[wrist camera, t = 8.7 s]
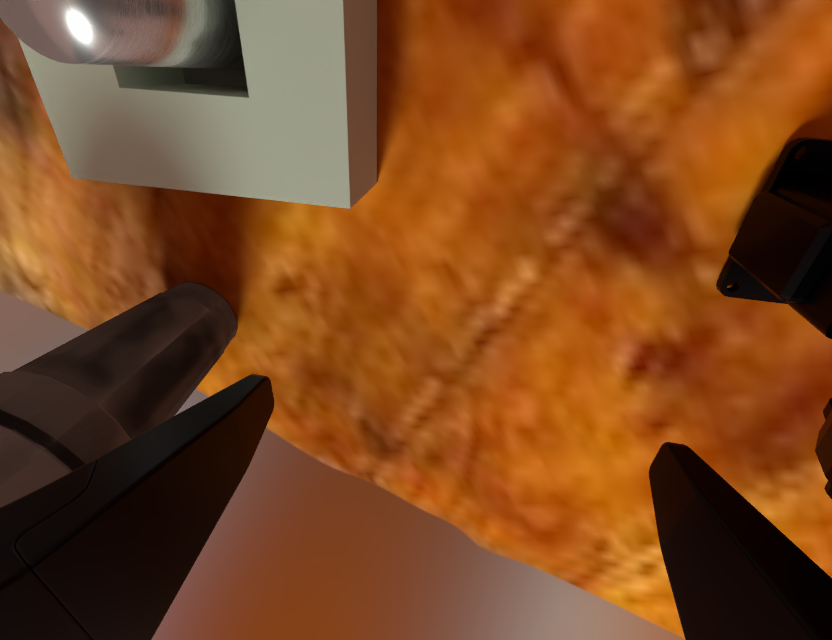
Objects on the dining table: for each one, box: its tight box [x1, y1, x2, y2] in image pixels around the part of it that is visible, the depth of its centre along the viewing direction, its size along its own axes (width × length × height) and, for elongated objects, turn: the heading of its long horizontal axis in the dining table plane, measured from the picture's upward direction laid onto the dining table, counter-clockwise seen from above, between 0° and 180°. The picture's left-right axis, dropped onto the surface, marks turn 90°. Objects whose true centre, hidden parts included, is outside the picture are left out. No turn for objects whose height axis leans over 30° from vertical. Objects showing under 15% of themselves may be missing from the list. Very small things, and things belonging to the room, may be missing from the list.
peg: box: [0, 0, 245, 70], centre depth 13 cm, size 4×4×8 cm
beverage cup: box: [0, 282, 237, 507], centre depth 17 cm, size 7×7×20 cm
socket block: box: [18, 0, 377, 209], centre depth 15 cm, size 12×12×4 cm
